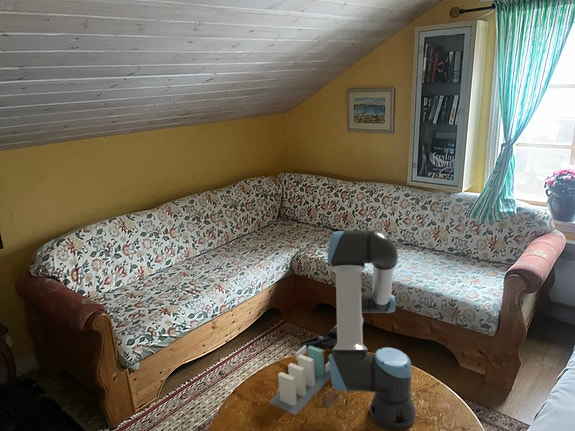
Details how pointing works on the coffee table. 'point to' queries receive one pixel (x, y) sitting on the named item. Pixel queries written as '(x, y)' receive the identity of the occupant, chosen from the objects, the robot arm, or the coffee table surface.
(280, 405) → the slate runway
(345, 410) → the coffee table surface
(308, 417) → the coffee table surface
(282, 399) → the ivory domino
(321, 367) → the teal domino
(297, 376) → the ivory domino
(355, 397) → the coffee table surface
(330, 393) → the shard
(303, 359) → the ivory domino
